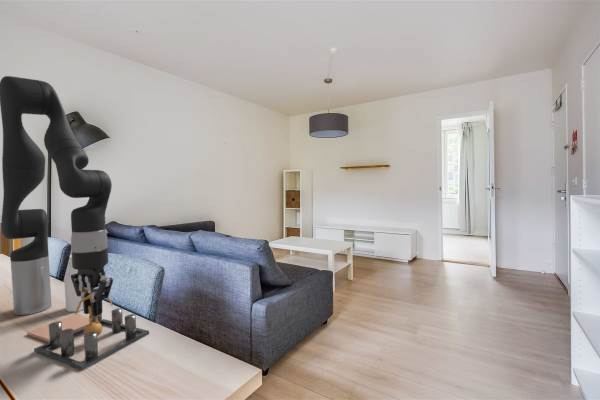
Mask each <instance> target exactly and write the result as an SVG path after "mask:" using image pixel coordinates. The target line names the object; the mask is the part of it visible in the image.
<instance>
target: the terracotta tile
mask: <svg viewBox="0 0 600 400" xmlns="http://www.w3.org/2000/svg"><path fill="white" fill-rule="evenodd" d="M77 314H78V313H76V314H75V313H74V314H72V315H69V316H66V317H64V318H60V319H59V320H56V321H54V322H57V321H61V322H62V331H63V330H65V329H73V332H75V331H77V330H79V329H82V328H84V327H86V326H87V325H88V324H89V316H85V315H81V314H78V315H77ZM51 323H53V322H50V323H47V324H45V325H42V326H40V327H37V328H34V329H32V330H29V331H27V336H30V337H33V338H36V339H38V340H41V341H45V342H47V343H49V342H50V339H49V324H51Z"/></svg>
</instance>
